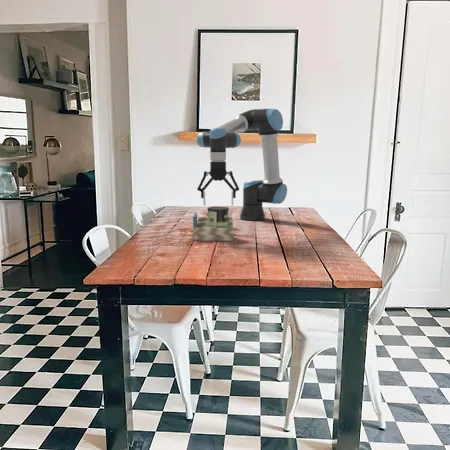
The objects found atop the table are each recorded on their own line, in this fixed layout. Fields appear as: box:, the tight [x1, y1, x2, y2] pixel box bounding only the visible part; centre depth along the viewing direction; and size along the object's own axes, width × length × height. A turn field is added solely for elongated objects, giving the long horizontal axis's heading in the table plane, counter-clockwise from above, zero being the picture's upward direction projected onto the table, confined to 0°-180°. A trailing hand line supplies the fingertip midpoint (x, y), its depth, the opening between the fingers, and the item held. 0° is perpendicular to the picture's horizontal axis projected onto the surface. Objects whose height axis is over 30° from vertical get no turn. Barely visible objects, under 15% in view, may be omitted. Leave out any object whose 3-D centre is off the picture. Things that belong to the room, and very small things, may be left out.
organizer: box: [192, 212, 235, 242], centre depth 237 cm, size 19×32×11 cm, turn 0°
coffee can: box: [207, 206, 229, 228], centre depth 229 cm, size 10×10×14 cm
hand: (218, 205), depth 228 cm, fingers open, 13 cm apart
